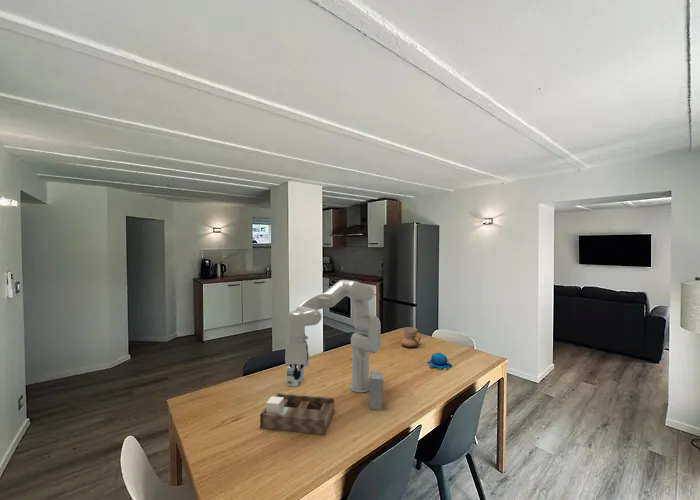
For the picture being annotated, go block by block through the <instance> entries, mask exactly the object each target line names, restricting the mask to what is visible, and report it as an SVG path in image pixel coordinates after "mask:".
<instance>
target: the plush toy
mask: <svg viewBox="0 0 700 500" xmlns="http://www.w3.org/2000/svg"><path fill="white" fill-rule="evenodd" d="M430 357H431V359H429V360H430V362H429V361H427V362H426V363H428V364H431V365H429V366H430V367H435V368H436V367H437V368H438V369H442V368H446V369H449V368H450V367H448V366H452V367H453V364H452V363H449V361H448V357H447V356H446V355H445V354H443V353H441V352H435V353H433V354H432V355H431V356H430ZM447 362H448V363H447ZM437 368H436V369H437ZM438 369H437V370H438Z"/></svg>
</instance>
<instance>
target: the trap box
mask: <svg viewBox="0 0 700 500" xmlns="http://www.w3.org/2000/svg"><path fill="white" fill-rule="evenodd" d="M274 397H284V411H283V412H282V414H281V415H279V414H269V413H266V407H265V408H264V409H263V410H262V412H261V413H260V416H259V418H260V419H259V423H260V425H259V426H260V427H259V428H260V429H266V430H267V429H269V430H276V431H278V430H279V431H285V432H286V431H287V432H296V433H306V434H315V435H322V436H323V435H324V436H325V434H326V432H327V430H328V427H329V425H330V422H331V420H332V417H333V414H334V411H335V398H334V397H326V396H314V395H304V394H303V395H302V394H292V393H278V392H277V394H276V395H275V396H274Z"/></svg>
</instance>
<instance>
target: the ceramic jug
mask: <svg viewBox="0 0 700 500" xmlns="http://www.w3.org/2000/svg"><path fill="white" fill-rule="evenodd" d="M400 332H401V333H402V334H403V336H404V337H403V338H402V339H401V340H400V344H401V345H402V346H403V347H405V348H409V347H413V348H417V347H418V346H419V343H420V341H421V336H420V335H419V334H418V329H417V328H416V327H410V326H409V327H407V326H406V327H402V330H401V331H400ZM416 337H418V339H416Z"/></svg>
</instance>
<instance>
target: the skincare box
mask: <svg viewBox="0 0 700 500" xmlns="http://www.w3.org/2000/svg"><path fill="white" fill-rule="evenodd" d="M369 378H370V388H369V391H368V408H369V410H381V411H382V410H383V395H384V393H383V392H384V374H383V372H382V371H369Z"/></svg>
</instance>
